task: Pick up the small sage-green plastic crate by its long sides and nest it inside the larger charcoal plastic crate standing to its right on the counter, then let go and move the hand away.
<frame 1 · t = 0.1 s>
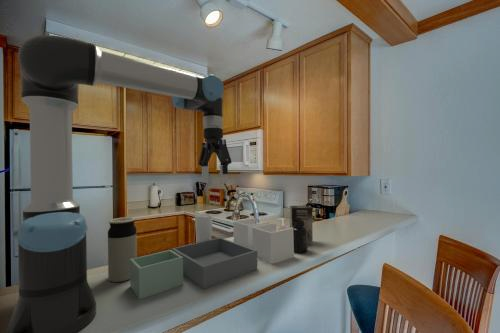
hand: (214, 182, 96), 28 cm above the countertop, tool pointing down, fingers open, 13 cm apart
coffee box: (301, 243, 108), on the countertop
white cubby shelf: (261, 252, 98), on the countertop
supplement bottle: (298, 251, 98), on the countertop
big crate: (213, 267, 83), on the countertop
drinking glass: (204, 253, 98), on the countertop
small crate: (156, 286, 71), on the countertop
travel mug: (123, 277, 77), on the countertop
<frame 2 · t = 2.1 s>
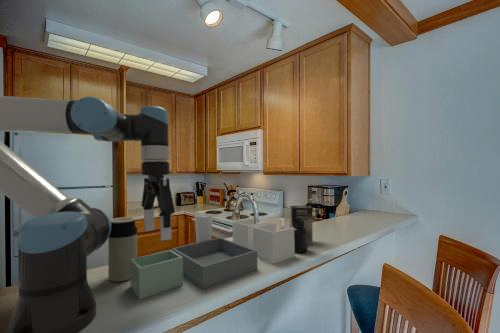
hand: (157, 234, 71), 15 cm above the countertop, tool pointing down, fingers open, 13 cm apart
travel mug: (123, 277, 77), on the countertop, touching arm
everything else where it was.
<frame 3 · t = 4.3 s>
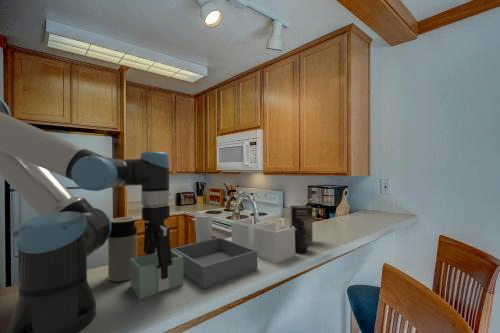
hand: (157, 283, 71), 1 cm above the countertop, tool pointing down, fingers closed on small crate, 9 cm apart
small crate: (157, 285, 71), on the countertop, touching gripper
everything else where it was.
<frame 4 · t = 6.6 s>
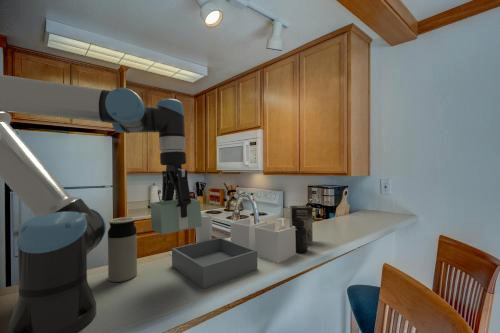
hand: (176, 225, 74), 16 cm above the countertop, tool pointing down, fingers closed on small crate, 9 cm apart
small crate: (176, 227, 74), point 16 cm above the countertop, touching gripper
travel mug: (123, 277, 77), on the countertop
when the fingers open (2 cm above the countertop, at t = 10.2 s): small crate stays where it is, resting on big crate.
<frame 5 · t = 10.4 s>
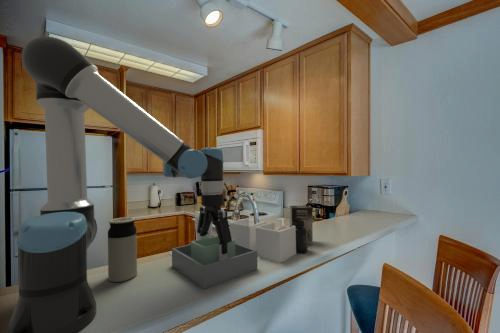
hand: (213, 258, 83), 3 cm above the countertop, tool pointing down, fingers open, 11 cm apart
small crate: (213, 264, 83), point 1 cm above the countertop, touching big crate
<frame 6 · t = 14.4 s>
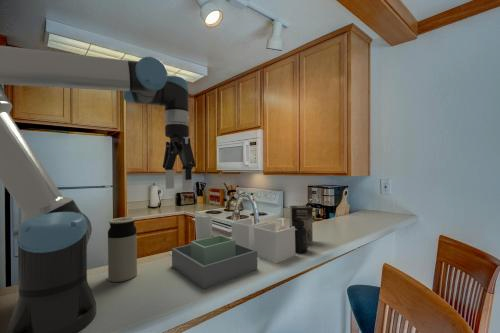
hand: (178, 189, 81), 27 cm above the countertop, tool pointing down, fingers open, 13 cm apart
at the end: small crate inside the target area on the big crate (0.0 cm from its centre), point 1.0 cm above the big crate's base; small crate tilted 0°; the gripper is holding nothing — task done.
